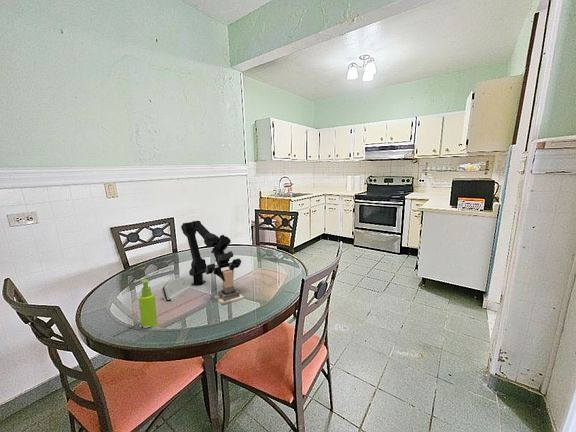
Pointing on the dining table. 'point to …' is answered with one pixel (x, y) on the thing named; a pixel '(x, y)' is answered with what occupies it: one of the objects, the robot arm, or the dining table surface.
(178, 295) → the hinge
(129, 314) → the dining table surface
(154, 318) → the soap dispenser
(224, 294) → the square socket base
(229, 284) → the brown rectangular block
